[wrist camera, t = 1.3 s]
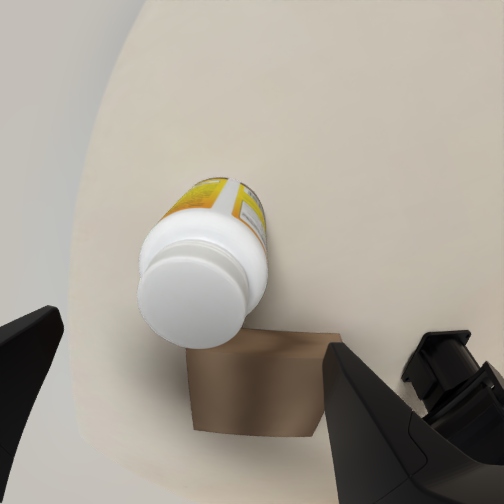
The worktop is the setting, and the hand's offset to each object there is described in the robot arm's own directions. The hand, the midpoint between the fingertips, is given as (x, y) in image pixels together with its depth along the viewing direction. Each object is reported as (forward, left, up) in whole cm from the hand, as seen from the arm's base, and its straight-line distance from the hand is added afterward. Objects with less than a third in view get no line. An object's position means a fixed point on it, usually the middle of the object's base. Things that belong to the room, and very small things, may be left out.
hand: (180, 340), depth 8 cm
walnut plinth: (-4, +15, -12) cm, 19 cm away
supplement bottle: (0, 0, -12) cm, 12 cm away
